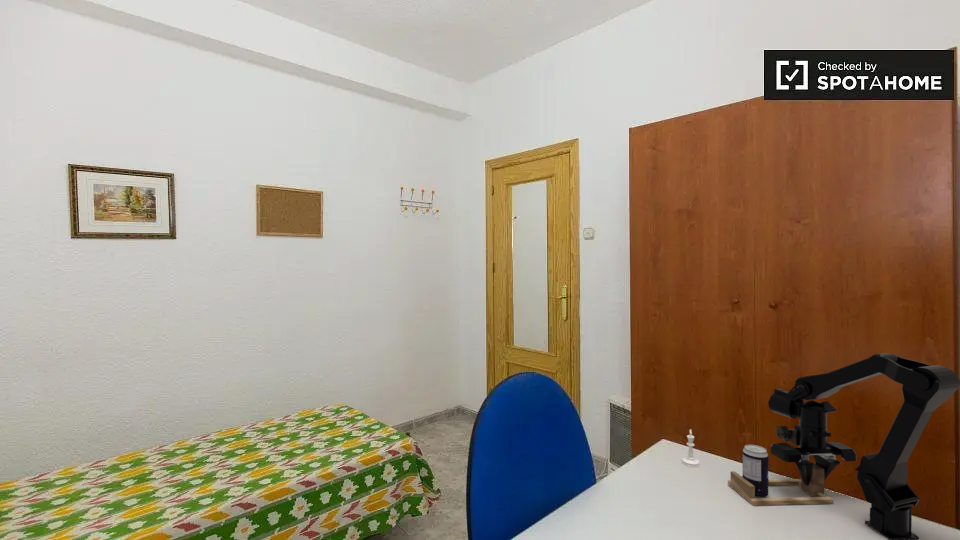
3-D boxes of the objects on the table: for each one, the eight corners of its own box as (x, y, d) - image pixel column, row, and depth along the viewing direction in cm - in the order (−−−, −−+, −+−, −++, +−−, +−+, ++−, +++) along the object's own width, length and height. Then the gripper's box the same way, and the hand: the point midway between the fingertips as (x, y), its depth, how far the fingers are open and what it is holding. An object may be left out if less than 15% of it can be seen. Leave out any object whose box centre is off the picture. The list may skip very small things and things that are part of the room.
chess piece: (682, 465, 130) (682, 431, 130) (680, 458, 135) (680, 426, 135) (701, 467, 129) (701, 433, 128) (698, 460, 133) (698, 427, 133)
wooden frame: (802, 482, 119) (802, 457, 119) (834, 503, 109) (834, 475, 109) (727, 484, 118) (727, 458, 118) (753, 505, 108) (753, 476, 108)
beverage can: (772, 501, 110) (772, 454, 110) (747, 499, 111) (747, 452, 111) (762, 490, 116) (763, 444, 115) (739, 488, 117) (739, 443, 117)
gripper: (822, 413, 122) (822, 469, 122) (756, 414, 121) (756, 470, 122) (858, 428, 111) (858, 490, 111) (786, 429, 110) (786, 491, 110)
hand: (812, 484), depth 114 cm, fingers closed on wooden frame, 3 cm apart
